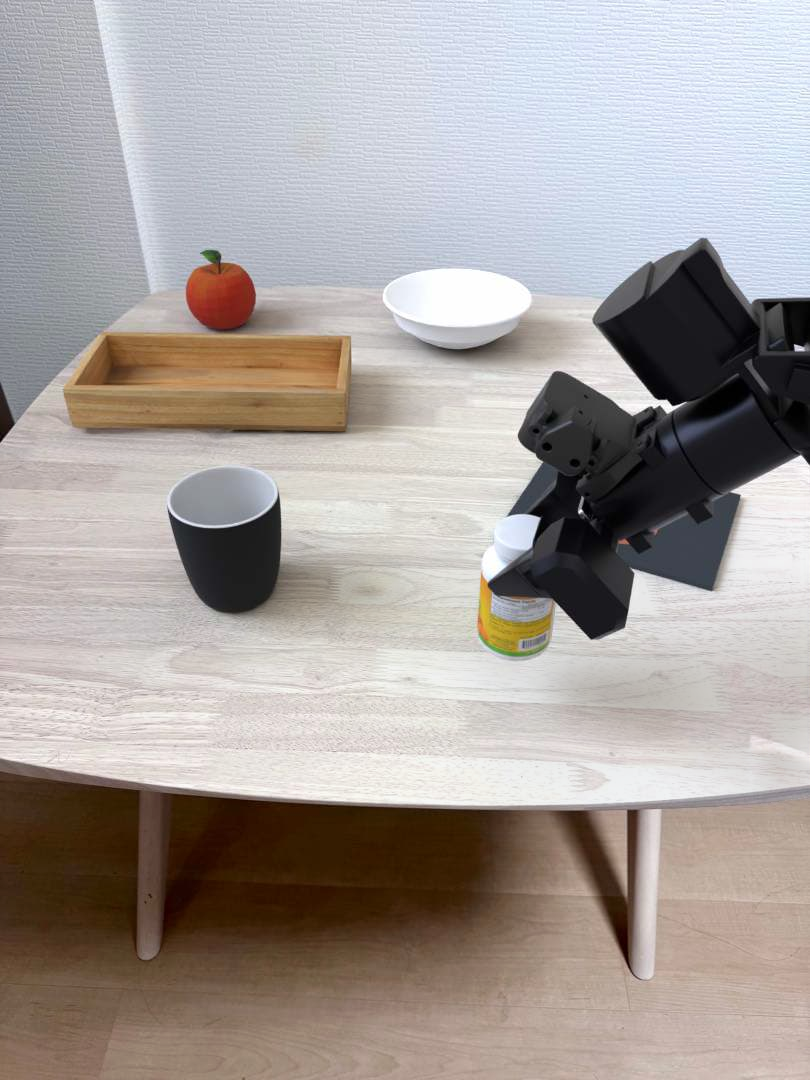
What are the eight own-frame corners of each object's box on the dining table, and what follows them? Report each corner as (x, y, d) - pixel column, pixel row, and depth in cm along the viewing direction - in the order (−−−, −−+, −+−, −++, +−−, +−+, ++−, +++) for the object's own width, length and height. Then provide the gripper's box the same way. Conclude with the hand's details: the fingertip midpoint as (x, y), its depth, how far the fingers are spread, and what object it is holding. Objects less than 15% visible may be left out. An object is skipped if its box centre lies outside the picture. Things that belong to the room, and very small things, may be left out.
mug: (309, 588, 75) (301, 493, 68) (227, 640, 69) (210, 542, 63) (226, 531, 81) (212, 440, 75) (145, 574, 76) (123, 480, 70)
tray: (352, 373, 108) (350, 331, 104) (346, 434, 96) (345, 389, 92) (109, 373, 107) (100, 330, 104) (73, 434, 95) (61, 388, 92)
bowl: (397, 378, 107) (398, 330, 103) (371, 316, 122) (371, 272, 118) (547, 365, 110) (553, 318, 106) (504, 306, 125) (507, 263, 121)
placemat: (739, 498, 86) (741, 493, 86) (711, 591, 75) (713, 586, 74) (551, 451, 93) (552, 447, 93) (499, 530, 82) (500, 525, 81)
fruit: (213, 344, 114) (203, 271, 108) (178, 322, 120) (166, 252, 114) (272, 326, 119) (266, 255, 113) (236, 305, 125) (228, 237, 119)
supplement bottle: (491, 604, 65) (499, 500, 59) (559, 624, 63) (575, 518, 57) (466, 650, 61) (472, 543, 55) (538, 672, 59) (552, 564, 53)
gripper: (632, 286, 54) (458, 414, 63) (592, 427, 40) (376, 565, 49) (733, 414, 57) (553, 518, 66) (729, 587, 43) (500, 689, 52)
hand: (501, 563), depth 58 cm, fingers closed on supplement bottle, 5 cm apart
